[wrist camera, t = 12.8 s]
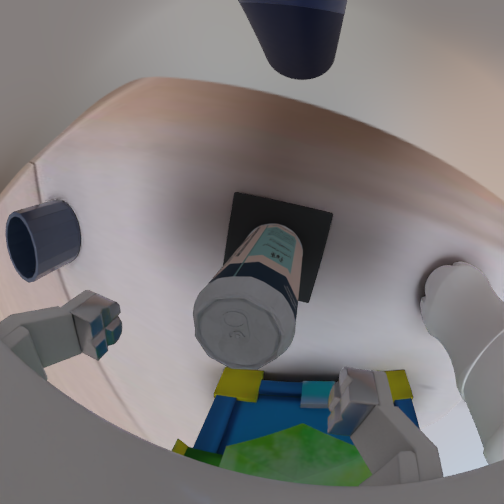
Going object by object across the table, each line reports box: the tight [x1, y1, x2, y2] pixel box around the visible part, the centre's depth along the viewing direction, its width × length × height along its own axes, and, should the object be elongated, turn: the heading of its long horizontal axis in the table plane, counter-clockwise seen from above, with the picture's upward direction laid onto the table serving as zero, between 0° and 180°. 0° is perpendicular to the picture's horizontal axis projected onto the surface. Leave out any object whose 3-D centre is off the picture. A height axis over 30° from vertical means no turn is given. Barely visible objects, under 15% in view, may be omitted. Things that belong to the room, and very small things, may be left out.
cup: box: [6, 200, 81, 282], centre depth 24 cm, size 8×8×7 cm
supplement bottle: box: [193, 224, 303, 370], centre depth 17 cm, size 5×5×12 cm
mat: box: [223, 192, 333, 303], centre depth 23 cm, size 8×8×1 cm
